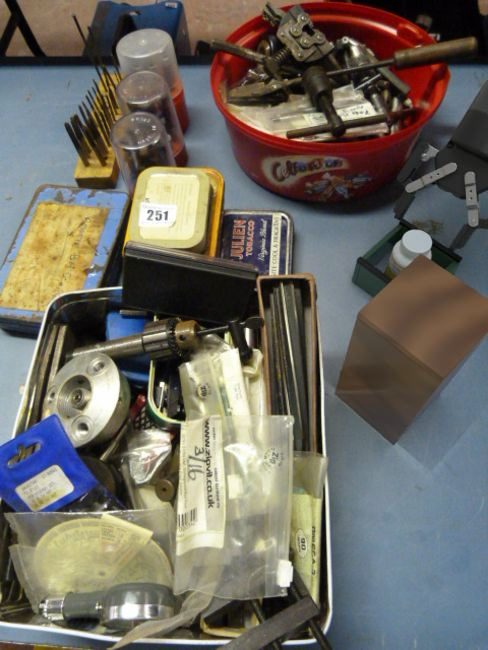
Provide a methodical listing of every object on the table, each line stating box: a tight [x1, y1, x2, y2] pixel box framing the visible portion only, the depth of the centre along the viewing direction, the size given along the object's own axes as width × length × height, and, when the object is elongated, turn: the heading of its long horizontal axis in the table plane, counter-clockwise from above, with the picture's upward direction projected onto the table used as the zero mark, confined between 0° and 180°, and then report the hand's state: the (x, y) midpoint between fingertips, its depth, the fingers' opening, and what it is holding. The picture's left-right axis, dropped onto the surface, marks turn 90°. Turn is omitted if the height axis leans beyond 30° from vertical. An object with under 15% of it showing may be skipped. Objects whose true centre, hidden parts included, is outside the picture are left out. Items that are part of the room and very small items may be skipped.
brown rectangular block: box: [334, 254, 488, 446], centre depth 59 cm, size 10×10×22 cm
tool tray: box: [351, 217, 464, 298], centre depth 75 cm, size 11×11×6 cm
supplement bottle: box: [383, 229, 432, 279], centre depth 73 cm, size 5×5×10 cm
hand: (423, 234), depth 70 cm, fingers open, 8 cm apart
